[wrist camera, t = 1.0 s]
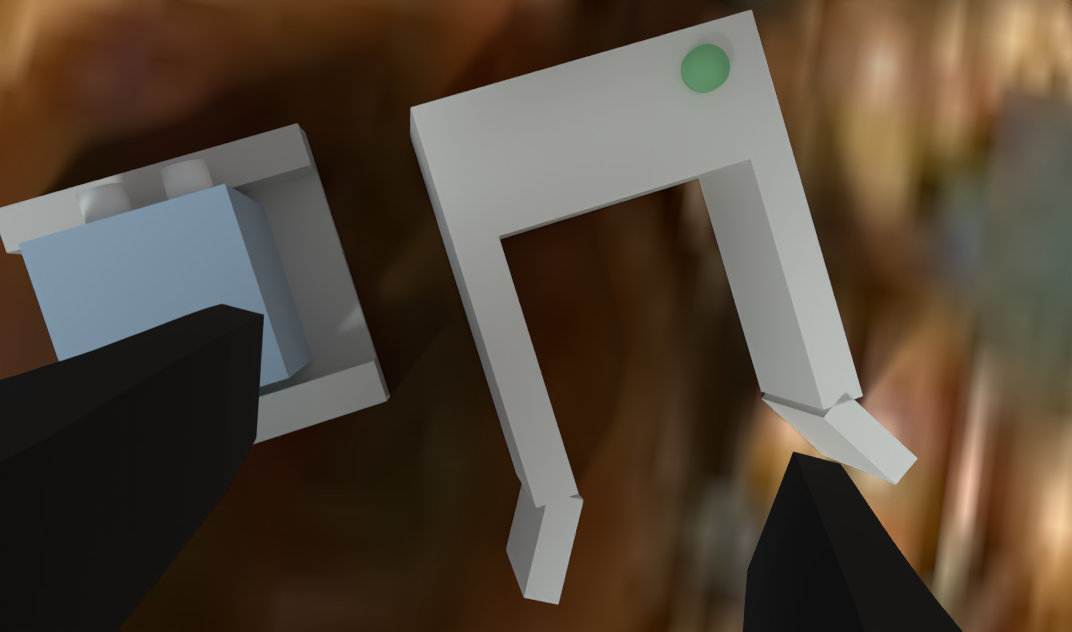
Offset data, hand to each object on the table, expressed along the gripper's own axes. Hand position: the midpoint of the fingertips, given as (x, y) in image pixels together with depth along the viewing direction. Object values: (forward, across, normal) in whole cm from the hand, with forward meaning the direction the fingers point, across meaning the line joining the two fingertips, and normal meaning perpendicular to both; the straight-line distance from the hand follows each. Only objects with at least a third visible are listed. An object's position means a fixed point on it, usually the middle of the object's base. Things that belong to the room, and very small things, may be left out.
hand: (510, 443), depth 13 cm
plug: (+9, +9, +5) cm, 14 cm away
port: (+13, -1, +4) cm, 13 cm away
